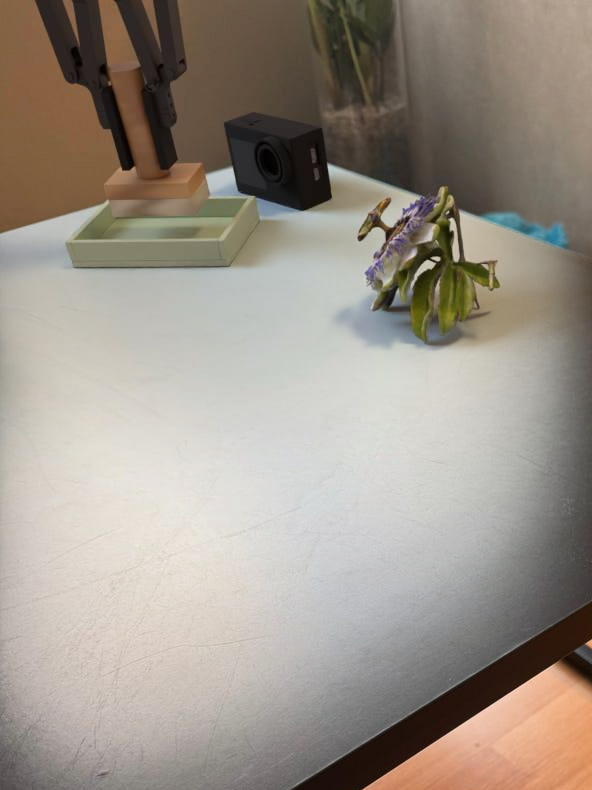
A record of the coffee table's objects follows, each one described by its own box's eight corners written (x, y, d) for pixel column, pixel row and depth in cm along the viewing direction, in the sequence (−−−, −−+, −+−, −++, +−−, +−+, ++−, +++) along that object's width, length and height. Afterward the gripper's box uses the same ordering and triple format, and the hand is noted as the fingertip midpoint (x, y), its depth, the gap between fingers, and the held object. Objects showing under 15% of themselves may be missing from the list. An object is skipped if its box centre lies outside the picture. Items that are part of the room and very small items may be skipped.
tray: (72, 267, 95) (64, 242, 93) (115, 221, 103) (108, 197, 101) (229, 266, 93) (223, 240, 92) (260, 220, 101) (255, 195, 100)
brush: (113, 217, 95) (69, 76, 86) (131, 196, 98) (90, 59, 90) (195, 215, 94) (159, 73, 85) (210, 194, 97) (177, 56, 89)
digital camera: (227, 195, 107) (212, 124, 102) (266, 179, 110) (253, 110, 105) (293, 215, 102) (281, 141, 97) (332, 198, 105) (321, 125, 100)
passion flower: (395, 367, 89) (361, 229, 87) (515, 336, 87) (483, 195, 86) (372, 351, 78) (332, 192, 76) (510, 315, 76) (472, 152, 75)
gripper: (181, -168, 79) (245, 149, 95) (-11, -157, 81) (83, 153, 97) (149, -158, 74) (222, 177, 90) (-57, -145, 75) (51, 181, 91)
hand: (150, 164), depth 93 cm, fingers closed on brush, 3 cm apart
